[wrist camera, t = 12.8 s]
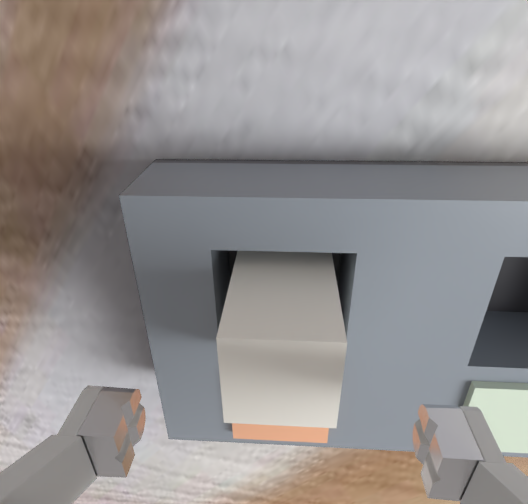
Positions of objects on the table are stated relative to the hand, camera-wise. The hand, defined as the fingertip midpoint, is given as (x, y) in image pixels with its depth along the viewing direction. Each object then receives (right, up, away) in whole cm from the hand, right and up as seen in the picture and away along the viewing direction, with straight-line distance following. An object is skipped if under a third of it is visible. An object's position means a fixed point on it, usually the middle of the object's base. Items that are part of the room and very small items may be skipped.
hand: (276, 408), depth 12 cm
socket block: (+12, +2, +9) cm, 15 cm away
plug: (+1, +4, +8) cm, 9 cm away
